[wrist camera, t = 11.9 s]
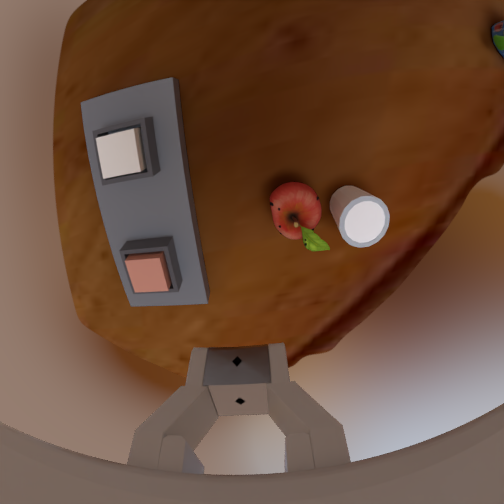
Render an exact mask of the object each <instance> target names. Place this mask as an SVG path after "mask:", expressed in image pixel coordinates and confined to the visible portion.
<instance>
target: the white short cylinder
mask: <svg viewBox="0 0 504 504" xmlns="http://www.w3.org/2000/svg"><path fill="white" fill-rule="evenodd" d="M330 211H331V213H332V215H333V218H334V220H335V222H336V224H337V226H338V228H339V231H340V233H341V235H342V237H343V239H344V240H345V241H346V242H347V243H348V244H350V245H352V246H355V247H368V246H370V245H372V244H374V243H376V242H378V241H379V240H380V239H381V238H382V237H383V236H384V234H385V232H386V230H387V228H388V226H389V217H390V215H389V212H388V209H387V206H386V205H385V204H384V203H383V202H382V200H381V199H379V198H377V197H375V196H373V195H371V194H369V193H367V192H365V191H363V190H361V189H359V188H357V187H355V186H352V185H351V186H343V187H341V188H339V189H337V190H336V192H335V193H334V194H333V195H332V197H331V200H330Z"/></svg>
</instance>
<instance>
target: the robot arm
mask: <svg viewBox="0 0 504 504" xmlns="http://www.w3.org/2000/svg"><path fill="white" fill-rule="evenodd" d="M268 348H269V349H268ZM257 414H258V415H259V414H269V416H270V417H271V418H272V420H273V421H274V422H275V423H276V425H277V426H278V427H279V428H280V429H281V431H282V432H283V433H284V435H285V436H286V438H285V473H273V474H256V475H211V474H204V466H203V464H202V463H201V461H200V460H199V459H198V457H197V456H196V454H195V453H194V450H195V448H196V447H197V446H198V444H199V443H200V442H201V440H202V439H203V438H204V436H205V435H206V434H207V432H208V431H209V430H210V428H211V427H212V426H213V424H214V423H215V421H216V420H217V419H218V416H233V415H257ZM0 504H504V403H503V404H502V405H500V406H498V407H497V408H495V409H493V410H491V411H489V412H488V413H486V414H484V415H482V416H480V417H478V418H476V419H474V420H472V421H470V422H468V423H466V424H464V425H462V426H460V427H457V428H455V429H453V430H451V431H448V432H446V433H444V434H441V435H439V436H436V437H434V438H431V439H429V440H426V441H423V442H421V443H418V444H415V445H412V446H409V447H406V448H403V449H400V450H397V451H393V452H390V453H387V454H383V455H380V456H376V457H372V458H368V459H364V460H360V461H355V462H351V461H350V456H349V452H348V447H347V443H346V439H345V434H344V430H343V426H342V425H341V424H340V423H339V422H338V421H337V420H336V419H335V418H333V416H331V415H330V414H329V413H328V412H327V411H326V410H325V409H324V408H323V407H321V406H320V405H319V404H318V403H317V402H316V401H315V400H314V399H313V398H311V396H310V395H308V394H307V393H306V392H305V391H304V390H303V389H302V388H301V387H300V386H299V385H298V384H297V383H296V382H295V381H291V382H290V379H289V372H288V365H287V357H286V350H285V345H284V343H277V344H269V345H268V344H265V345H253V346H239V347H209V348H193V350H192V353H191V358H190V363H189V369H188V374H187V380H186V385H185V386H181V387H180V388H179V389H178V390H177V391H176V392H174V393H173V394H172V395H171V396H170V397H169V398H168V399H167V400H166V401H165V402H164V403H163V404H162V405H161V406H160V407H159V408H158V409H157V410H156V411H155V412H154V413H153V414H152V415H151V416H150V417H149V418H148V419H146V421H144V422H143V423H142V424H141V425H140V426H139V427H138V428H137V429H136V430H135V433H134V438H133V441H132V445H131V450H130V454H129V458H128V462H127V465H126V464H121V463H116V462H112V461H108V460H103V459H99V458H95V457H92V456H88V455H84V454H81V453H78V452H74V451H71V450H68V449H65V448H62V447H59V446H56V445H53V444H50V443H48V442H45V441H42V440H40V439H38V438H35V437H33V436H30V435H28V434H25V433H23V432H21V431H18V430H16V429H14V428H12V427H10V426H8V425H6V424H4V423H2V422H0Z"/></svg>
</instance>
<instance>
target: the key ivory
mask: <svg viewBox="0 0 504 504" xmlns="http://www.w3.org/2000/svg"><path fill="white" fill-rule="evenodd" d="M96 142H97V148H98V154H99V160H100V165H101V170H102V175H103V179H105V178H110V177H115V176H120V175H125V174H130V173H136V172H141V171H142V170H144V169H146V168H147V165H146V159H145V153H144V147H143V140H142V133H141V127H139V128H134V129H130V130H125V131H121V132H117V133H113V134H109V135H106V136H102V137H98V138H96Z"/></svg>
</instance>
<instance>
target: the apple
mask: <svg viewBox="0 0 504 504" xmlns="http://www.w3.org/2000/svg"><path fill="white" fill-rule="evenodd" d="M270 205H271V211H272V216H273V221H274V224H275V227H276V228H277V230H278V231H279V232H280V234H283V235H284V236H285V237H287V238H289V239H301V238H303V243H304V245H305V247H306V248H307V249H308V250H309V249H310V250H311V251H322V250H330V248H329V246H328V244H327V243H326V242H325V241H323V240H321V238H320V237H319V236H318V235H317V234H315V233H313V232H314V231H313V230H314V228H315V227H316V225H317V224H318V222H319V220H320V218H321V204H320V200H319V197H318V196H317V194H316V193H315V191H314V190H313V189H312V188H311V187H310V186H308V185H306V184H304V183H300V182H288V183H285V184H282V185H280V186H279V187H277V188H276V189H275V190H274V191H273V192H272V194H271V195H270Z"/></svg>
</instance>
